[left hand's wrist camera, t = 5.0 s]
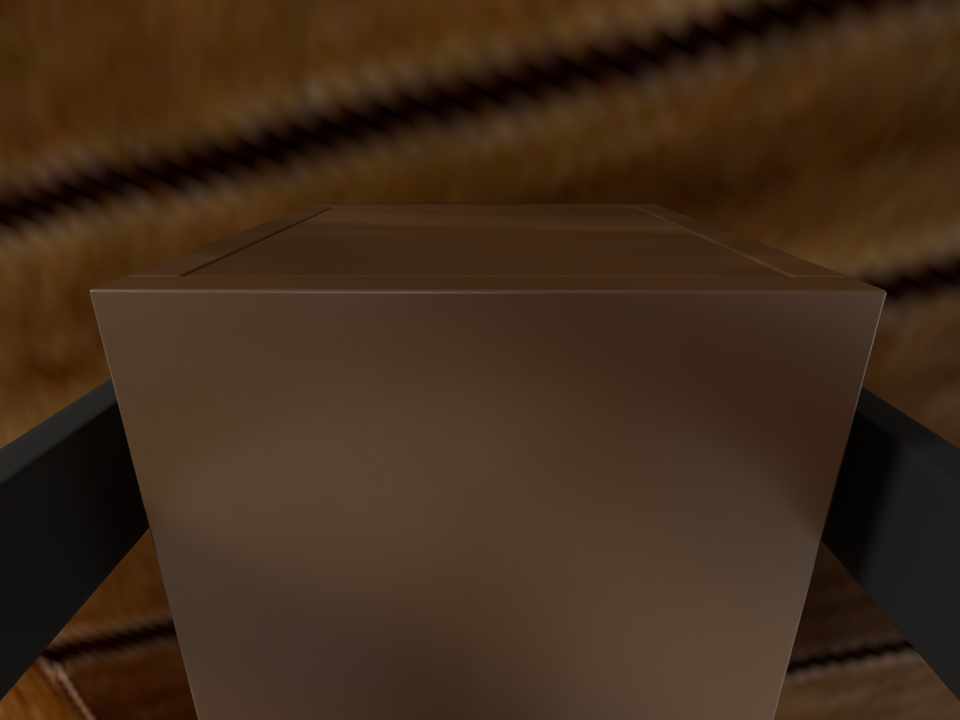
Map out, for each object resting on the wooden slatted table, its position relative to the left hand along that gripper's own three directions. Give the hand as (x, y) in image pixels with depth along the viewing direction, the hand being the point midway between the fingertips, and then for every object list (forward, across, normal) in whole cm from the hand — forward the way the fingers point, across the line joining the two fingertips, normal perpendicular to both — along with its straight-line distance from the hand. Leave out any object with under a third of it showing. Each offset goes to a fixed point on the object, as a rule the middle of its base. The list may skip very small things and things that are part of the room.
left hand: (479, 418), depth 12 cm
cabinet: (+7, 0, -6) cm, 9 cm away
